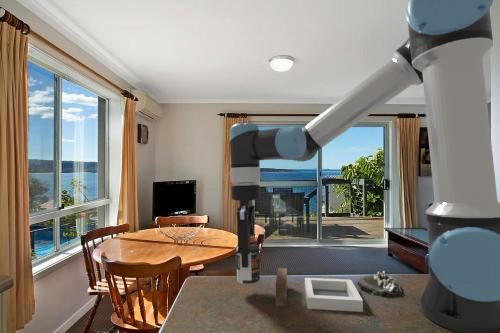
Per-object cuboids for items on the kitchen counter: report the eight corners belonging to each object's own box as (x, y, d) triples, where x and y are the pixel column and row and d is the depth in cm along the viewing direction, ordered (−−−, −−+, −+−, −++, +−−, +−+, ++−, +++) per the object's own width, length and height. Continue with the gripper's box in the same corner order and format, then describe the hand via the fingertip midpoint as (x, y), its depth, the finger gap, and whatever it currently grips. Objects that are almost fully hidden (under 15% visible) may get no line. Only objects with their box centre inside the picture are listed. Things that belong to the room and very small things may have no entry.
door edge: (286, 286, 75) (286, 268, 75) (286, 306, 64) (286, 284, 64) (278, 286, 76) (277, 267, 76) (276, 305, 65) (275, 284, 65)
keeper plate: (351, 289, 73) (351, 279, 73) (363, 311, 61) (362, 300, 61) (304, 287, 75) (304, 277, 75) (307, 308, 63) (307, 297, 63)
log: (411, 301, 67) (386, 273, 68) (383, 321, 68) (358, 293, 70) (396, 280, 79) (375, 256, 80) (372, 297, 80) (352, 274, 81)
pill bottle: (241, 286, 67) (240, 239, 67) (233, 278, 72) (232, 235, 73) (263, 282, 69) (262, 236, 70) (253, 274, 75) (252, 232, 75)
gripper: (238, 183, 82) (240, 263, 81) (222, 186, 63) (225, 289, 62) (263, 182, 81) (265, 263, 80) (255, 185, 62) (258, 290, 61)
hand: (248, 274), depth 71 cm, fingers closed on pill bottle, 6 cm apart
